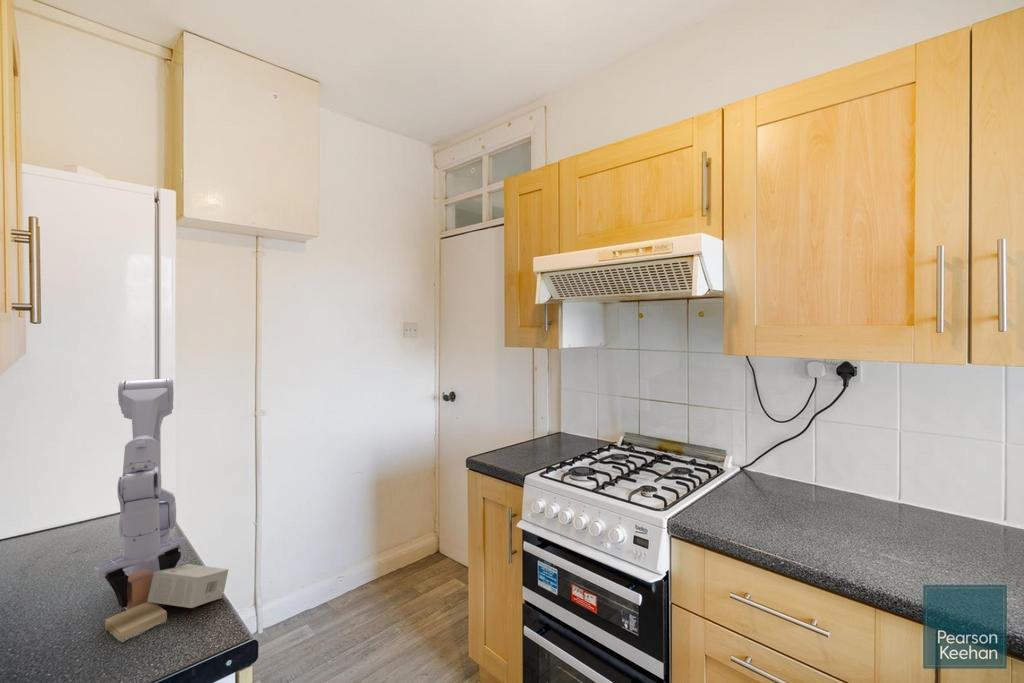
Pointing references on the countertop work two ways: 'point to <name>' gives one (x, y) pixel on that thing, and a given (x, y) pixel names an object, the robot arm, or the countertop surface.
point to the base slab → (135, 620)
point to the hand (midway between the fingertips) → (144, 596)
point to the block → (138, 587)
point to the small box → (187, 585)
